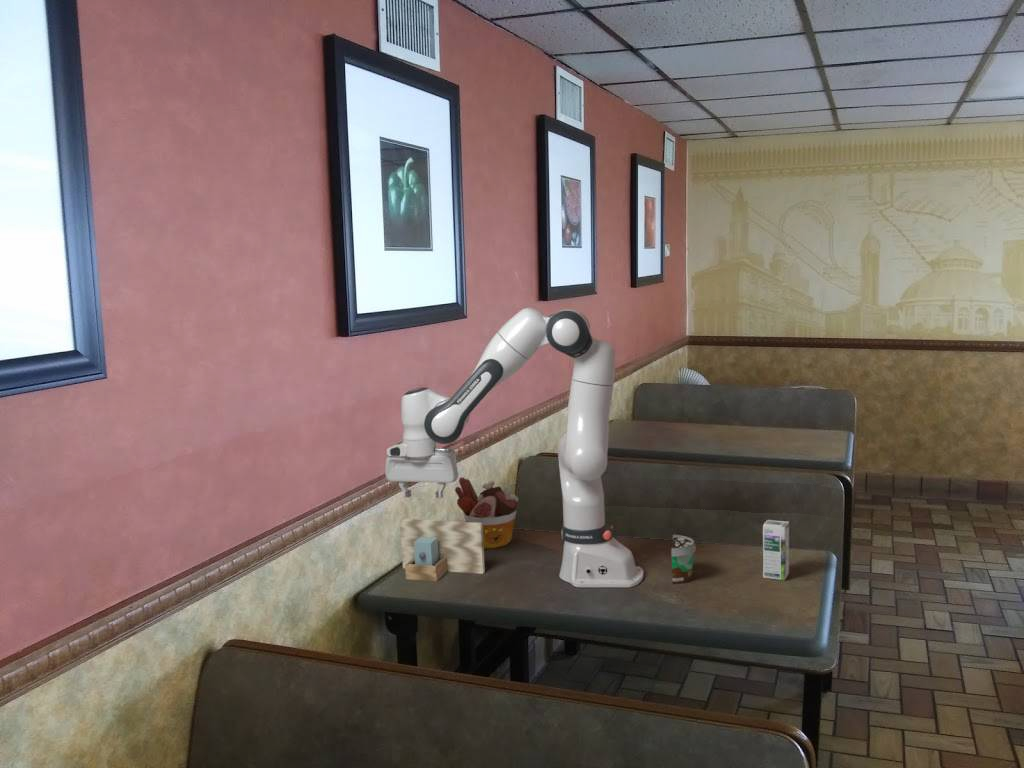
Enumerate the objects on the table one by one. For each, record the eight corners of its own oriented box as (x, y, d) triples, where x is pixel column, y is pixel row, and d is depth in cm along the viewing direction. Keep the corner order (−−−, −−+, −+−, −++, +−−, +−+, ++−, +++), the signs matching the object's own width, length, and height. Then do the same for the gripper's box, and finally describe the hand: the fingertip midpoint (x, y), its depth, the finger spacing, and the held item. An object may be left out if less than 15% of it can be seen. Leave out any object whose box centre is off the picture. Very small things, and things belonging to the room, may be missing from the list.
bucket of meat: (531, 538, 286) (528, 475, 283) (506, 555, 271) (503, 488, 268) (474, 532, 295) (471, 470, 292) (447, 547, 280) (443, 483, 277)
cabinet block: (439, 572, 259) (437, 537, 258) (431, 579, 254) (429, 544, 252) (423, 571, 261) (420, 536, 259) (414, 578, 255) (412, 543, 254)
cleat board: (484, 571, 258) (482, 522, 256) (473, 584, 249) (470, 533, 247) (405, 566, 265) (402, 518, 263) (390, 578, 256) (387, 528, 254)
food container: (696, 586, 240) (695, 549, 238) (672, 586, 241) (671, 548, 240) (696, 570, 252) (696, 534, 250) (673, 569, 253) (672, 534, 252)
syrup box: (762, 578, 244) (762, 524, 242) (767, 571, 249) (767, 518, 247) (784, 581, 241) (784, 526, 239) (789, 573, 246) (789, 520, 244)
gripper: (459, 445, 252) (463, 495, 254) (390, 444, 259) (394, 493, 261) (451, 450, 246) (454, 501, 248) (381, 449, 253) (384, 499, 255)
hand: (423, 497), depth 254 cm, fingers open, 8 cm apart
